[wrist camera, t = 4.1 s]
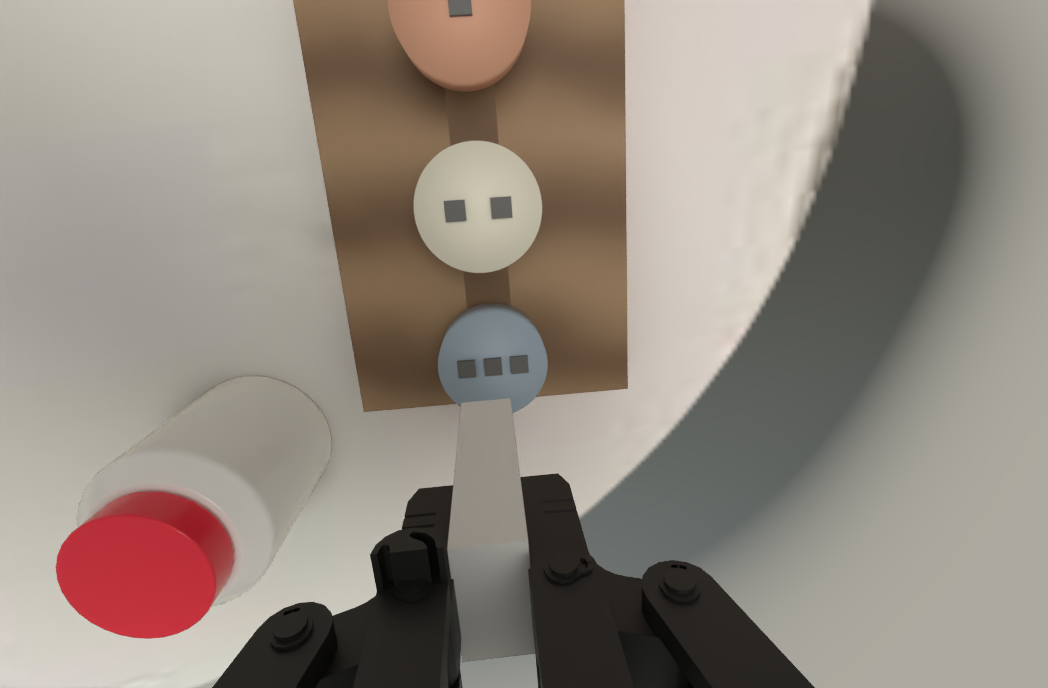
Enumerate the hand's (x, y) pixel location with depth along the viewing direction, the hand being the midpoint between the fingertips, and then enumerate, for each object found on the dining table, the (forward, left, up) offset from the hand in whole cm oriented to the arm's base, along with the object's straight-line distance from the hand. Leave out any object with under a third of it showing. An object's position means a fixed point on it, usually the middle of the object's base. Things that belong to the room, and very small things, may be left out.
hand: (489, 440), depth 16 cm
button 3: (0, 0, -12) cm, 12 cm away
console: (-7, 0, -13) cm, 15 cm away
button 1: (-14, 0, -11) cm, 17 cm away
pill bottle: (+5, -13, -13) cm, 19 cm away
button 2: (-7, 0, -11) cm, 13 cm away
